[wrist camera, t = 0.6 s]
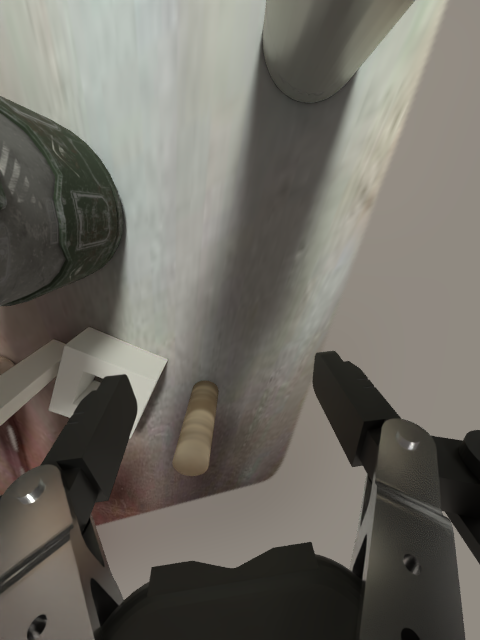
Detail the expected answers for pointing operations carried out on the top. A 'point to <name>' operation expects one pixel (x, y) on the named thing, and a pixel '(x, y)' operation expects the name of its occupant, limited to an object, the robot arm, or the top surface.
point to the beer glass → (5, 364)
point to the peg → (197, 431)
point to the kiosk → (79, 373)
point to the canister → (51, 206)
